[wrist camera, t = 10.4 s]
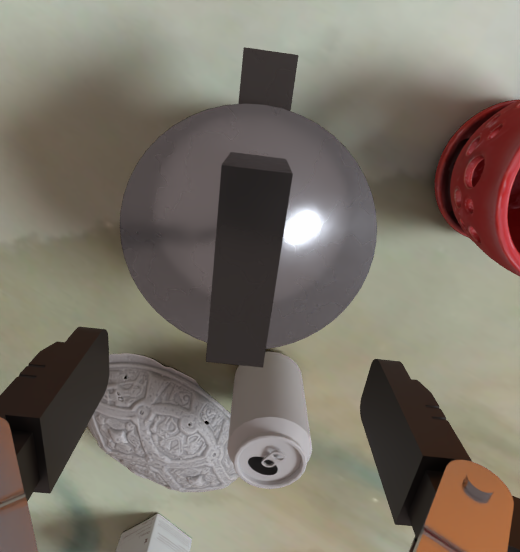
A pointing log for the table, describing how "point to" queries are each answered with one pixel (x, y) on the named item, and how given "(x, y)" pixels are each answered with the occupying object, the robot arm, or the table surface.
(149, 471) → the grey oval domed piece
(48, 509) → the table surface
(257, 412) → the can
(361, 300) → the table surface
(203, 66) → the table surface
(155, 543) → the supplement box
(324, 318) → the lid
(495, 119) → the plant pot
